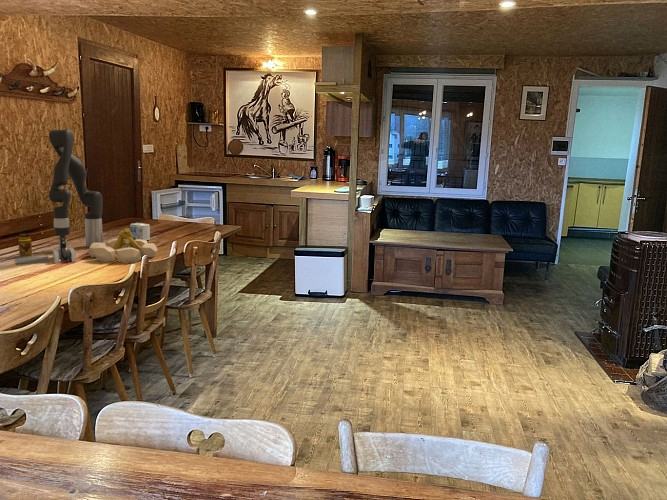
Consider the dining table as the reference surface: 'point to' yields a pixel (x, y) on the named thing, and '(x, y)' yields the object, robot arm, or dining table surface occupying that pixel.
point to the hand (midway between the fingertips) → (63, 257)
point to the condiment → (25, 246)
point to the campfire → (122, 248)
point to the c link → (70, 254)
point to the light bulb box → (140, 231)
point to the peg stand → (64, 255)
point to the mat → (32, 260)
